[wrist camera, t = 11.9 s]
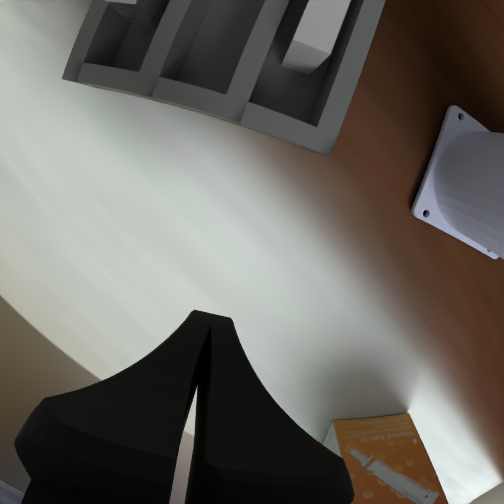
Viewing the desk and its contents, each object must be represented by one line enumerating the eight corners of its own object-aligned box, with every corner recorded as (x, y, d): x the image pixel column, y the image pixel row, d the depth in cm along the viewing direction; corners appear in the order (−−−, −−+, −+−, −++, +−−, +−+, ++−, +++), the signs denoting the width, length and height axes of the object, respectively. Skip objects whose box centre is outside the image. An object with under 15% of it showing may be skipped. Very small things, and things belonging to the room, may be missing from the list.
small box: (409, 410, 25) (457, 518, 13) (387, 448, 27) (420, 546, 15) (330, 418, 25) (360, 548, 13) (315, 456, 27) (334, 567, 15)
